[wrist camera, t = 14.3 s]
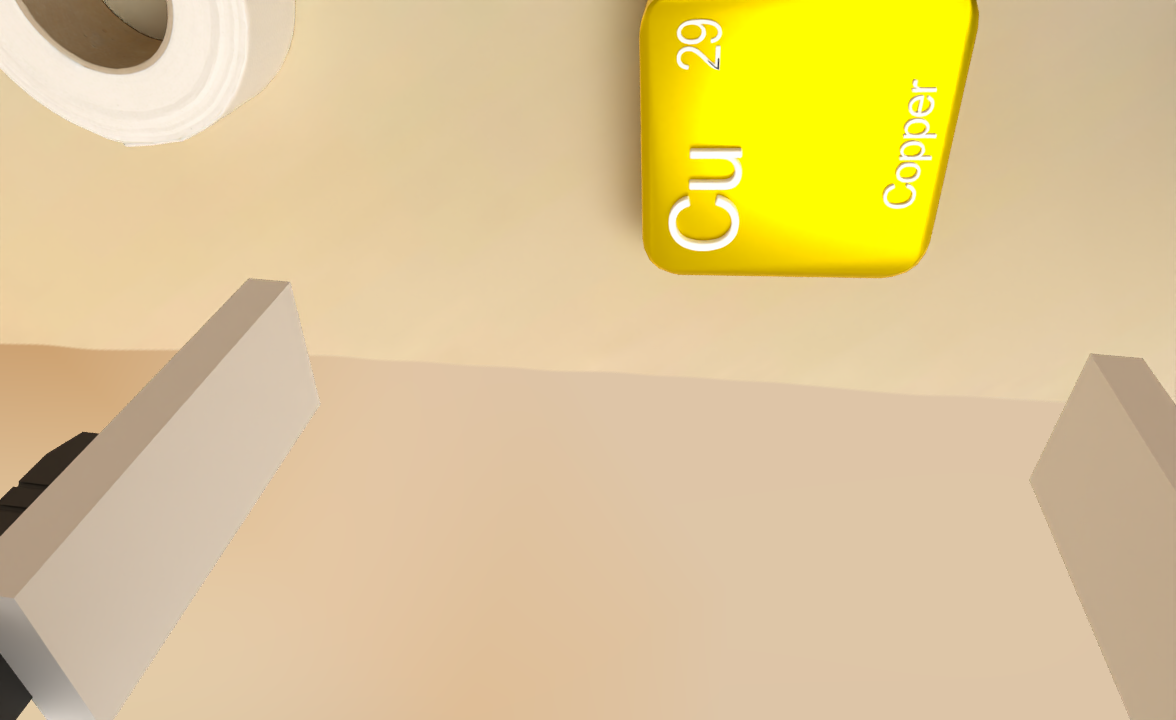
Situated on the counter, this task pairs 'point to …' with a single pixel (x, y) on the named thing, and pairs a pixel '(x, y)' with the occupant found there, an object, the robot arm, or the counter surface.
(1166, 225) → the counter surface
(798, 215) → the element tile
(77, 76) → the roll of tape
